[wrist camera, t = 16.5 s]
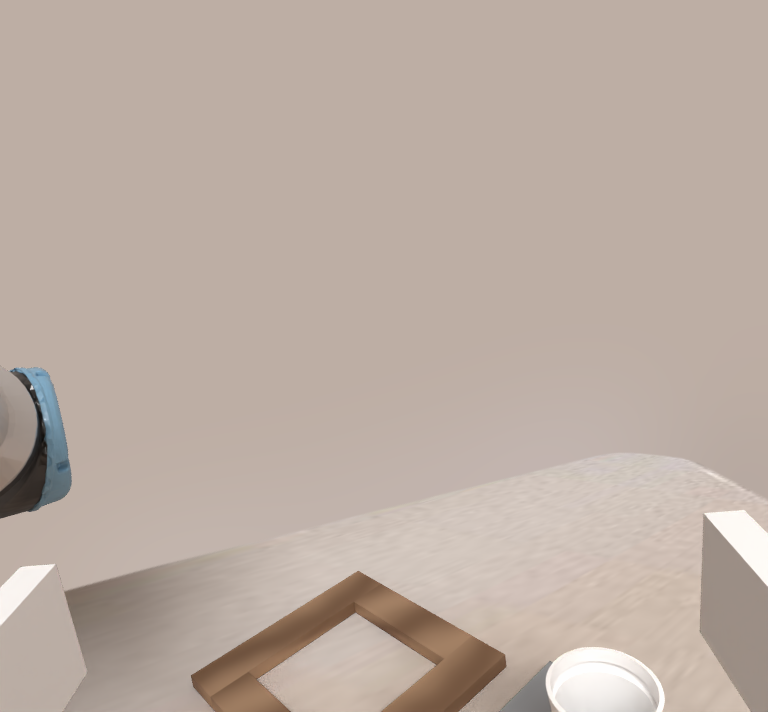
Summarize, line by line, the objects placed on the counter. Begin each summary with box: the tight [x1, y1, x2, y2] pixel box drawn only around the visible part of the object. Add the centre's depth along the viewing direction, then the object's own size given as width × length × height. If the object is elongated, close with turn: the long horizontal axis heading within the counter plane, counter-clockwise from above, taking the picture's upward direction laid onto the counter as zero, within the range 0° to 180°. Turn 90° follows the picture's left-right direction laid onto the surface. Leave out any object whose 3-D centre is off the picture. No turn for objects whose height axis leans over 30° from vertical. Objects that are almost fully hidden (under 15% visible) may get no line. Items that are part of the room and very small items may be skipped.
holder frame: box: [191, 571, 506, 712], centre depth 45 cm, size 16×16×1 cm
